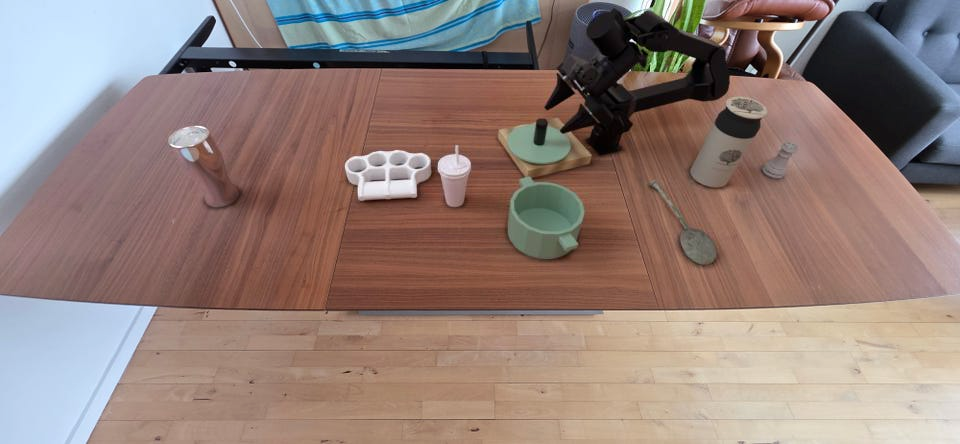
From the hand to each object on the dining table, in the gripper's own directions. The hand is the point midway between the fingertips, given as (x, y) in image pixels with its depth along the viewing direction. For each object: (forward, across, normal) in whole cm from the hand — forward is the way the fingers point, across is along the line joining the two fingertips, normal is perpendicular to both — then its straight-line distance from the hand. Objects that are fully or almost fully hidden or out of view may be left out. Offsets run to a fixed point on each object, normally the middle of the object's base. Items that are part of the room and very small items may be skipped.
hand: (552, 120), depth 94 cm
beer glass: (+56, -1, -43) cm, 71 cm away
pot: (+13, +23, 0) cm, 27 cm away
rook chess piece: (-27, +18, +40) cm, 52 cm away
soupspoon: (-6, +27, +19) cm, 33 cm away
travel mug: (-16, +16, +30) cm, 37 cm away
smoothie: (+24, +11, -11) cm, 28 cm away
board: (+7, -1, +6) cm, 9 cm away
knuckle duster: (+32, +1, -19) cm, 38 cm away
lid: (+6, 0, +2) cm, 6 cm away
